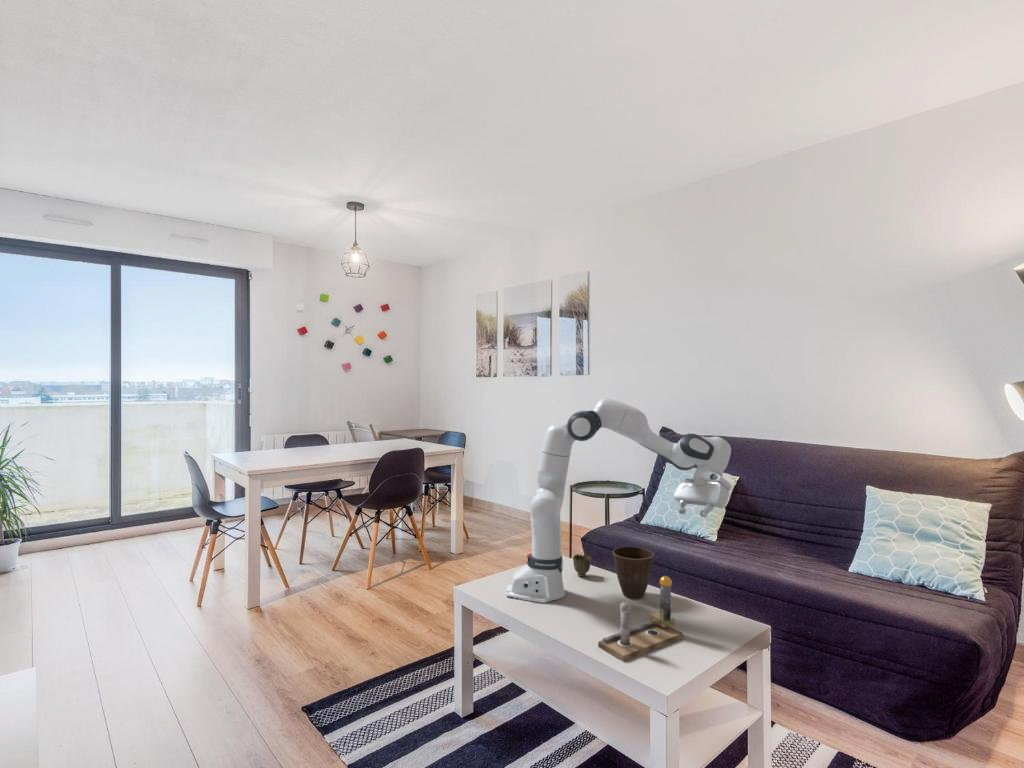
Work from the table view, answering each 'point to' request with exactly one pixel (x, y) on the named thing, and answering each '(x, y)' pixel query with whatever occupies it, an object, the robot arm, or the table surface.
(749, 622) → the table surface
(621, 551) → the plant pot
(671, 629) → the wooden peg board
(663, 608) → the sliding leg
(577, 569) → the cup
